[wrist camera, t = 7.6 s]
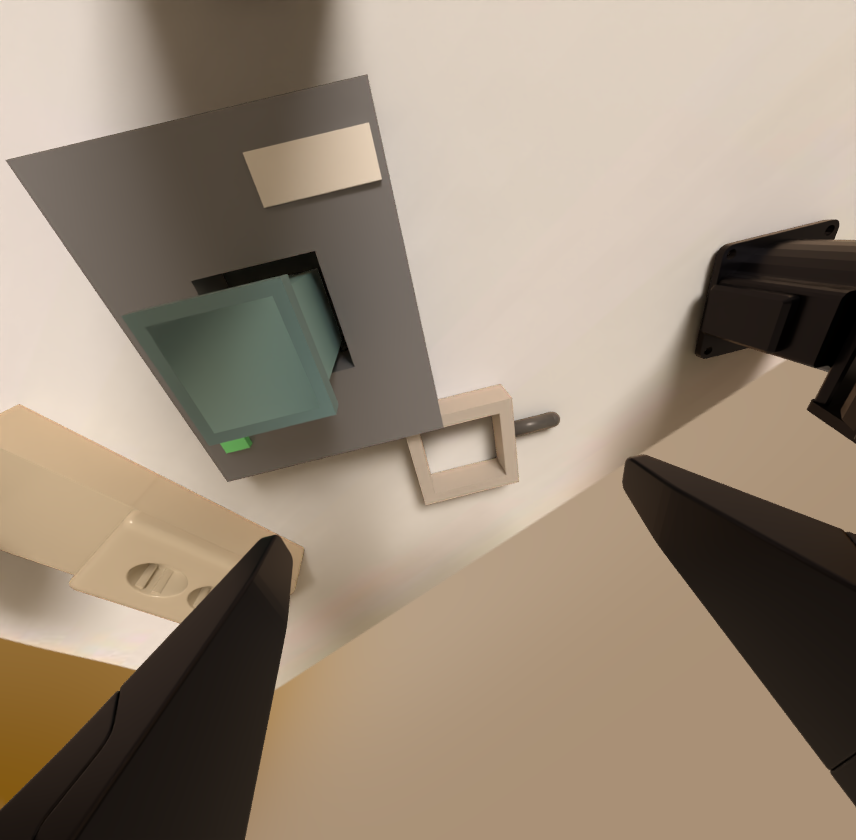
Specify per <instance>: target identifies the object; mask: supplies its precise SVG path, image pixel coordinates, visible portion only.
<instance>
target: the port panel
mask: <svg viewBox="0 0 856 840" xmlns="http://www.w3.org/2000/svg"><path fill="white" fill-rule="evenodd" d="M6 162H7V163H8V164H9V166H10V167H11V169H12V170H13V172H14V173H15V175H16V176H17V178H18V179H19V180H20V182H21V183H22V185H23V186H24V188H25V189H26V191H27V192H28V193H29V195H30V196H31V198H32V199H33V201H34V202H35V204H36V205H37V207H38V208H39V209H40V211H41V212H42V214H43V215H44V217H45V218H46V220H47V221H48V222H49V224H50V225H51V227H52V228H53V230H54V231H55V233H56V234H57V235H58V237H59V238H60V240H61V241H62V243H63V244H64V246H65V247H66V249H67V250H68V251H69V253H70V254H71V256H72V257H73V259H74V260H75V262H76V263H77V264H78V266H79V267H80V269H81V270H82V272H83V273H84V275H85V276H86V278H87V279H88V280H89V282H90V283H91V285H92V286H93V288H94V289H95V291H96V292H97V293H98V295H99V296H100V298H101V299H102V301H103V302H104V304H105V305H106V306H107V308H108V309H109V311H110V312H111V314H112V315H113V317H114V318H115V320H116V321H117V322H118V324H119V325H120V327H121V328H122V330H123V331H124V333H125V334H126V335H127V337H128V338H129V340H130V341H131V343H132V344H133V346H134V347H135V349H136V350H137V351H138V353H139V354H140V356H141V357H142V359H143V360H144V362H145V363H146V364H147V366H148V367H149V369H150V370H151V372H152V373H153V375H154V376H155V377H156V379H157V380H158V382H159V383H160V385H161V386H162V388H163V389H164V391H165V392H166V393H167V395H168V396H169V398H170V399H171V401H172V402H173V404H174V405H175V406H176V408H177V409H178V411H179V412H180V414H181V415H182V417H183V418H184V420H185V421H186V422H187V424H188V425H189V427H190V428H191V430H192V431H193V433H194V434H195V435H196V437H197V438H198V440H199V441H200V443H201V444H202V446H203V447H204V448H205V450H206V451H207V453H208V454H209V456H210V457H211V459H212V460H213V462H214V463H215V464H216V466H217V467H218V469H219V470H220V472H221V473H222V475H223V476H224V477H225V479H226V480H227V482H229V481H233V480H237V479H241V478H245V477H249V476H253V475H257V474H261V473H265V472H269V471H273V470H277V469H281V468H285V467H289V466H293V465H297V464H301V463H305V462H309V461H313V460H317V459H321V458H325V457H329V456H333V455H337V454H341V453H345V452H349V451H353V450H357V449H361V448H365V447H369V446H373V445H377V444H381V443H385V442H389V441H393V440H397V439H401V438H405V437H409V436H413V435H417V434H421V433H425V432H429V431H433V430H437V429H441V428H444V427H443V422H442V417H441V413H440V408H439V403H438V399H437V394H436V390H435V385H434V380H433V376H432V371H431V366H430V362H429V357H428V353H427V348H426V343H425V339H424V334H423V330H422V325H421V320H420V316H419V311H418V306H417V302H416V297H415V293H414V288H413V283H412V279H411V274H410V269H409V265H408V260H407V256H406V251H405V246H404V242H403V237H402V233H401V228H400V223H399V219H398V214H397V209H396V205H395V200H394V196H393V191H392V186H391V182H390V177H389V173H388V168H387V163H386V159H385V154H384V149H383V145H382V140H381V136H380V131H379V126H378V122H377V117H376V112H375V108H374V103H373V99H372V94H371V89H370V85H369V80H368V76H367V75H362V76H358V77H354V78H350V79H346V80H341V81H337V82H333V83H329V84H325V85H320V86H316V87H312V88H308V89H303V90H299V91H295V92H291V93H287V94H282V95H278V96H274V97H270V98H265V99H261V100H257V101H253V102H249V103H244V104H240V105H236V106H232V107H227V108H223V109H219V110H215V111H211V112H206V113H202V114H198V115H194V116H190V117H185V118H181V119H177V120H173V121H168V122H164V123H160V124H156V125H152V126H147V127H143V128H139V129H135V130H130V131H126V132H122V133H118V134H114V135H109V136H105V137H101V138H97V139H93V140H88V141H84V142H80V143H76V144H71V145H67V146H63V147H59V148H55V149H50V150H46V151H42V152H38V153H33V154H29V155H25V156H21V157H17V158H12V159H8V160H6ZM312 251H315V253H316V256H317V259H318V262H319V265H320V267H321V270H322V273H323V276H324V279H325V282H326V285H327V288H328V291H329V294H330V297H331V299H332V302H333V305H334V308H335V311H336V314H337V317H338V320H339V323H340V326H341V329H342V331H343V334H344V337H345V340H346V343H347V346H348V349H349V350H347V351H343V352H339V353H338V355H337V358H336V361H335V364H334V367H333V370H332V373H331V376H330V379H329V381H330V383H331V386H332V388H333V391H334V394H335V396H336V399H337V401H338V404H339V405H338V409H337V413H336V415H333V416H329V417H325V418H321V419H316V420H312V421H308V422H304V423H300V424H296V425H292V426H288V427H284V428H280V429H276V430H272V431H268V432H264V433H260V434H256V435H252V436H248V437H244V438H240V439H236V440H232V441H228V442H224V443H220V444H216V445H212V446H209V445H208V444H207V442H206V441H205V439H204V438H203V436H202V435H201V433H200V432H199V430H198V429H197V427H196V426H195V424H194V423H193V422H192V420H191V419H190V417H189V416H188V414H187V413H186V411H185V410H184V408H183V407H182V405H181V404H180V402H179V401H178V399H177V398H176V396H175V395H174V393H173V392H172V391H171V389H170V388H169V386H168V385H167V383H166V382H165V380H164V379H163V377H162V376H161V374H160V373H159V371H158V370H157V368H156V367H155V365H154V364H153V362H152V361H151V360H150V358H149V357H148V355H147V354H146V352H145V351H144V349H143V348H142V346H141V345H140V343H139V342H138V340H137V339H136V337H135V336H134V334H133V333H132V332H131V330H130V329H129V327H128V326H127V324H126V323H125V321H124V320H123V318H122V317H121V316H122V315H125V314H128V313H132V312H135V311H138V310H141V309H145V308H149V307H153V306H158V305H162V304H166V303H170V302H174V301H178V300H182V299H186V298H190V297H195V296H199V295H203V294H207V293H211V292H215V291H219V290H223V289H227V288H229V286H228V284H227V282H226V280H225V278H224V276H223V274H222V273H226V272H230V271H234V270H238V269H242V268H246V267H251V266H255V265H259V264H263V263H267V262H271V261H275V260H279V259H284V258H288V257H292V256H296V255H300V254H304V253H308V252H312Z"/></svg>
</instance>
